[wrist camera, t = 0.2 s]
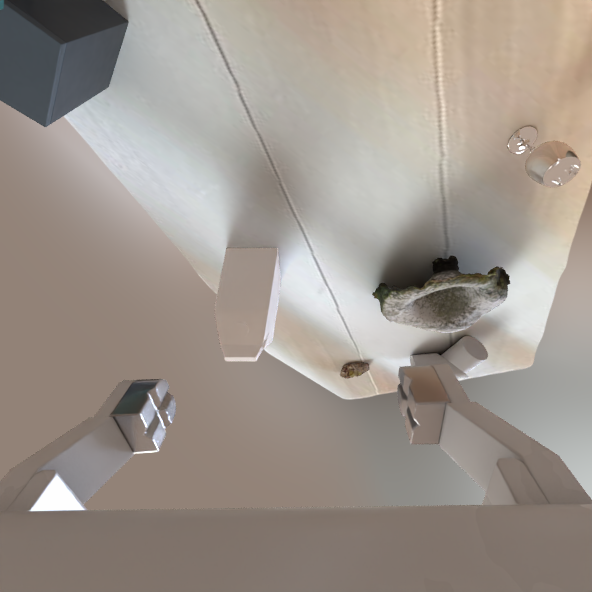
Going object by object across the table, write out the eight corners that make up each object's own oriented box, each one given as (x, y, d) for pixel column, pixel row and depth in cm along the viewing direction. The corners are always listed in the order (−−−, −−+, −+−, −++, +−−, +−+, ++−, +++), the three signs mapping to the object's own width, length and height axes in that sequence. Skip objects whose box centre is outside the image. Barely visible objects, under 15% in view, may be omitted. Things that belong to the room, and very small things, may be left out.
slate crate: (128, 21, 43) (61, 44, 31) (108, 87, 49) (45, 127, 37) (27, -62, 38) (-101, -72, 26) (18, 23, 43) (-90, 47, 32)
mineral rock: (347, 382, 113) (338, 379, 107) (344, 371, 116) (335, 367, 109) (375, 374, 109) (367, 370, 103) (371, 362, 111) (363, 357, 105)
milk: (234, 283, 80) (214, 374, 62) (226, 248, 72) (200, 341, 54) (281, 283, 80) (274, 374, 62) (278, 247, 71) (269, 341, 54)
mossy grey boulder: (482, 216, 56) (516, 292, 51) (502, 259, 79) (527, 315, 73) (344, 276, 72) (360, 339, 67) (394, 298, 95) (408, 346, 90)
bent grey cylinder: (446, 374, 110) (488, 343, 96) (450, 401, 102) (496, 372, 88) (400, 355, 109) (436, 322, 95) (401, 381, 101) (440, 349, 87)
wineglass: (534, 114, 51) (578, 143, 42) (546, 139, 53) (590, 171, 45) (497, 141, 54) (532, 173, 46) (511, 163, 56) (546, 197, 48)
